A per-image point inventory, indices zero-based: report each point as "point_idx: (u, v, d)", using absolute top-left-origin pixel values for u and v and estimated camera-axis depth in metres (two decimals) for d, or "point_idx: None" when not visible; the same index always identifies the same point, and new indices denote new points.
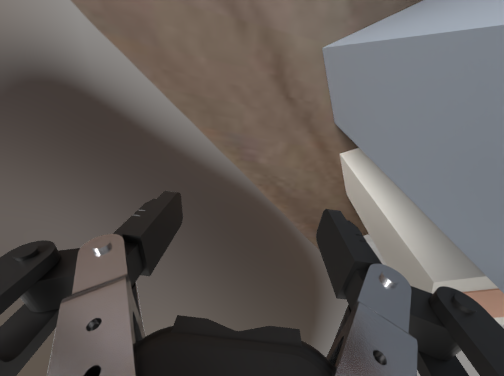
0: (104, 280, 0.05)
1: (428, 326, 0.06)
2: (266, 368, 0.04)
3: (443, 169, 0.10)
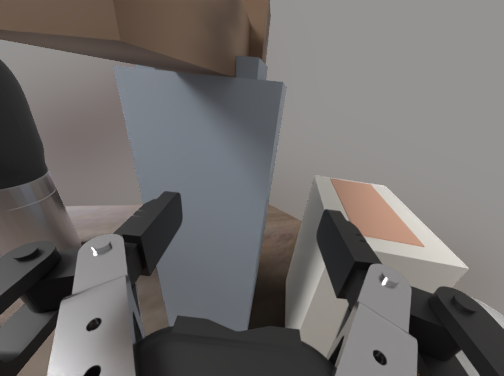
0: (104, 280, 0.05)
1: (428, 326, 0.06)
2: (266, 368, 0.04)
3: (211, 228, 0.15)
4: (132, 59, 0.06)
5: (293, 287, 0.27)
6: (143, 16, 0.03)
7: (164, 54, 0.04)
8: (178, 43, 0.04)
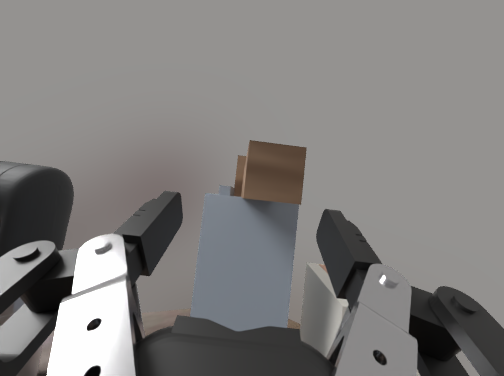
0: (104, 280, 0.05)
1: (428, 326, 0.06)
2: (266, 368, 0.04)
3: (249, 304, 0.19)
4: None
5: None
6: None
7: None
8: None
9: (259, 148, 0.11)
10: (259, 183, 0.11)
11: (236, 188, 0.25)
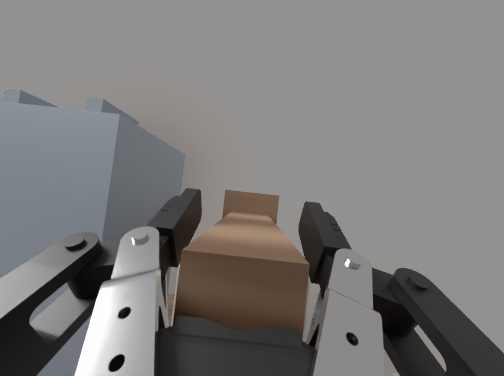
0: (138, 270, 0.06)
1: (386, 303, 0.06)
2: (266, 368, 0.04)
3: None
4: None
5: None
6: None
7: None
8: None
9: (202, 268, 0.05)
10: None
11: None
